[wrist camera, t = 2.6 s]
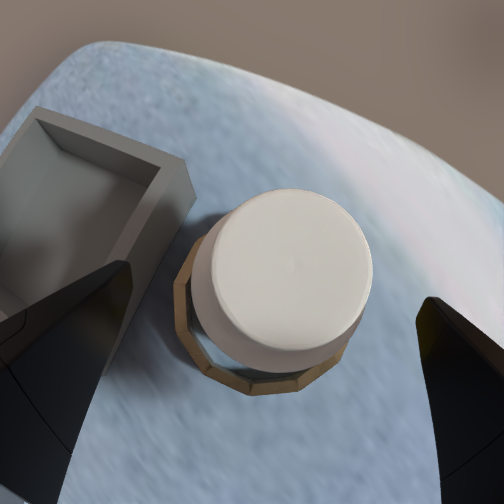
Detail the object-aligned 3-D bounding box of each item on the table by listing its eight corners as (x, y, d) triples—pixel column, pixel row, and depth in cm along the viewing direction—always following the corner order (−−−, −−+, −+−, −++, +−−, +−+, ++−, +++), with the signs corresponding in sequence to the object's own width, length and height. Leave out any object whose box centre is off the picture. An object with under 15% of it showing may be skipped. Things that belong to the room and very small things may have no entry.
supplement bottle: (322, 347, 17) (417, 359, 7) (220, 362, 16) (188, 401, 7) (307, 248, 18) (373, 154, 8) (208, 260, 18) (167, 171, 8)
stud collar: (304, 414, 16) (309, 421, 14) (151, 341, 17) (143, 341, 15) (370, 265, 18) (380, 259, 17) (227, 197, 19) (225, 186, 17)
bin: (105, 375, 16) (67, 385, 12) (-13, 280, 17) (-55, 266, 13) (196, 198, 19) (184, 159, 14) (64, 140, 20) (36, 105, 15)
